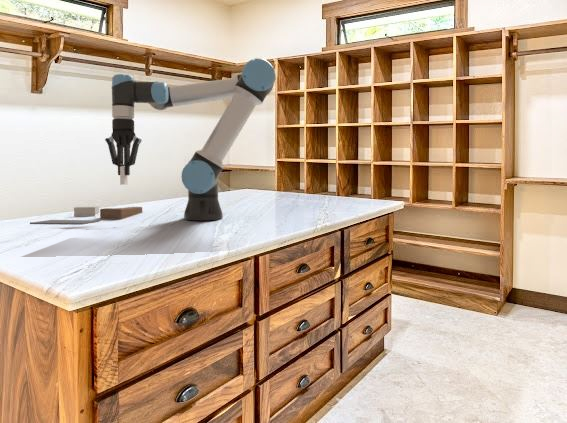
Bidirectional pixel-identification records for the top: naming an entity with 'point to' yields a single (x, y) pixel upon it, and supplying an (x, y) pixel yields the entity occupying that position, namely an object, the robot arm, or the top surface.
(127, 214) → the wooden block
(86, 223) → the charcoal mat
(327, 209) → the top surface
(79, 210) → the smooth beige box
